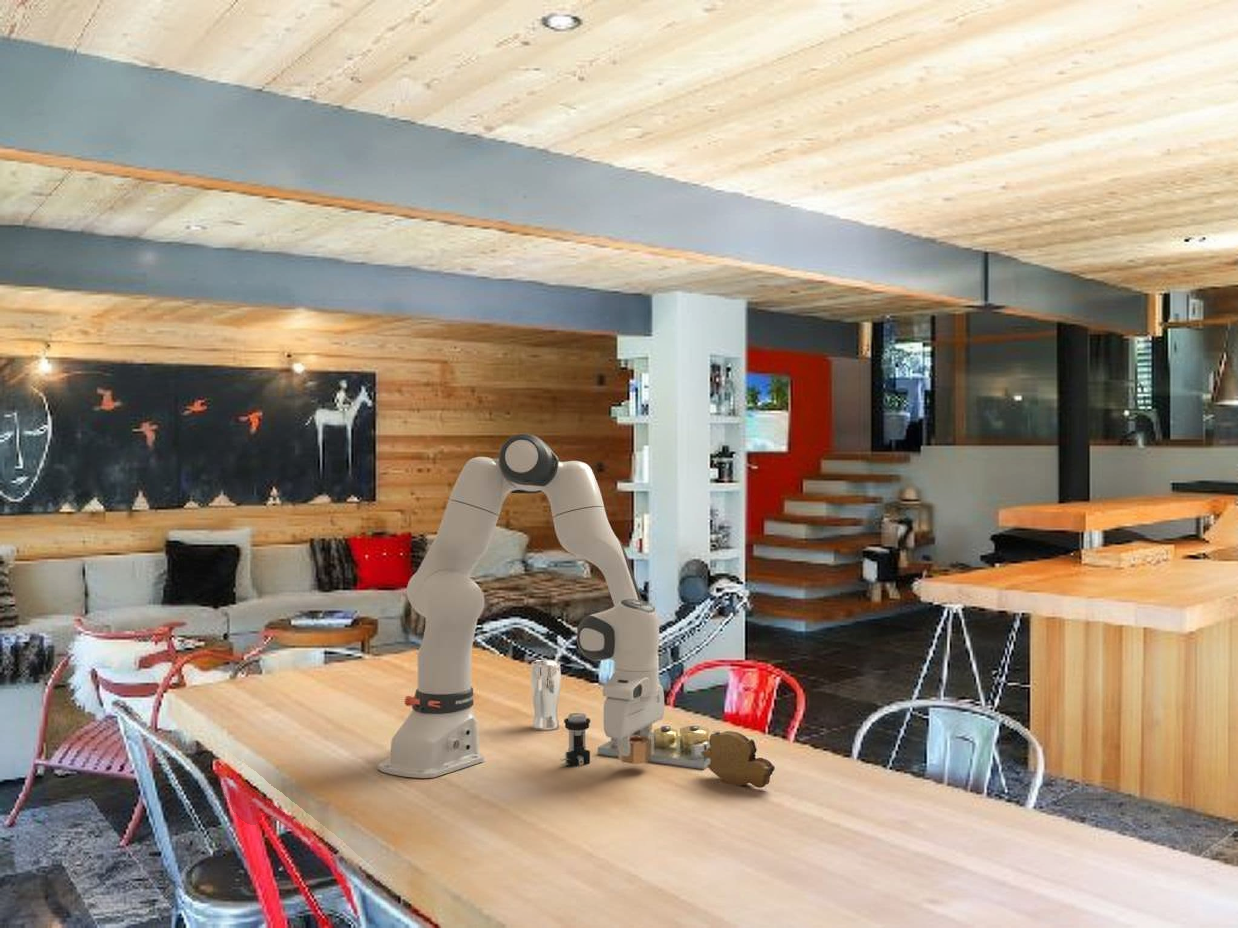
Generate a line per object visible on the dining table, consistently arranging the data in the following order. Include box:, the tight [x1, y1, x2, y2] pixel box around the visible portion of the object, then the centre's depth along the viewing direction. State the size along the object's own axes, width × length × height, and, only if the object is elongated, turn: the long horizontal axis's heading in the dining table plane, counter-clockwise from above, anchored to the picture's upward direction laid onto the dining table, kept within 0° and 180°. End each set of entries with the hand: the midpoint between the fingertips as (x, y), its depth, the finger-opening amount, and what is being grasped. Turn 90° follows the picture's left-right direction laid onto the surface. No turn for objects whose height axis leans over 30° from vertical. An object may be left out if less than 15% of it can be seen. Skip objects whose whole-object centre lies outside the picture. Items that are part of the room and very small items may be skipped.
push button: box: [560, 712, 591, 768], centre depth 224 cm, size 7×5×10 cm
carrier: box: [597, 725, 721, 770], centre depth 234 cm, size 16×24×6 cm, turn 64°
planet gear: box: [618, 735, 651, 765], centre depth 221 cm, size 6×6×4 cm
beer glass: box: [530, 659, 562, 731], centre depth 254 cm, size 7×7×15 cm
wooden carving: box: [701, 730, 775, 789], centre depth 212 cm, size 16×5×10 cm, turn 49°
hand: (634, 750), depth 220 cm, fingers closed on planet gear, 6 cm apart
